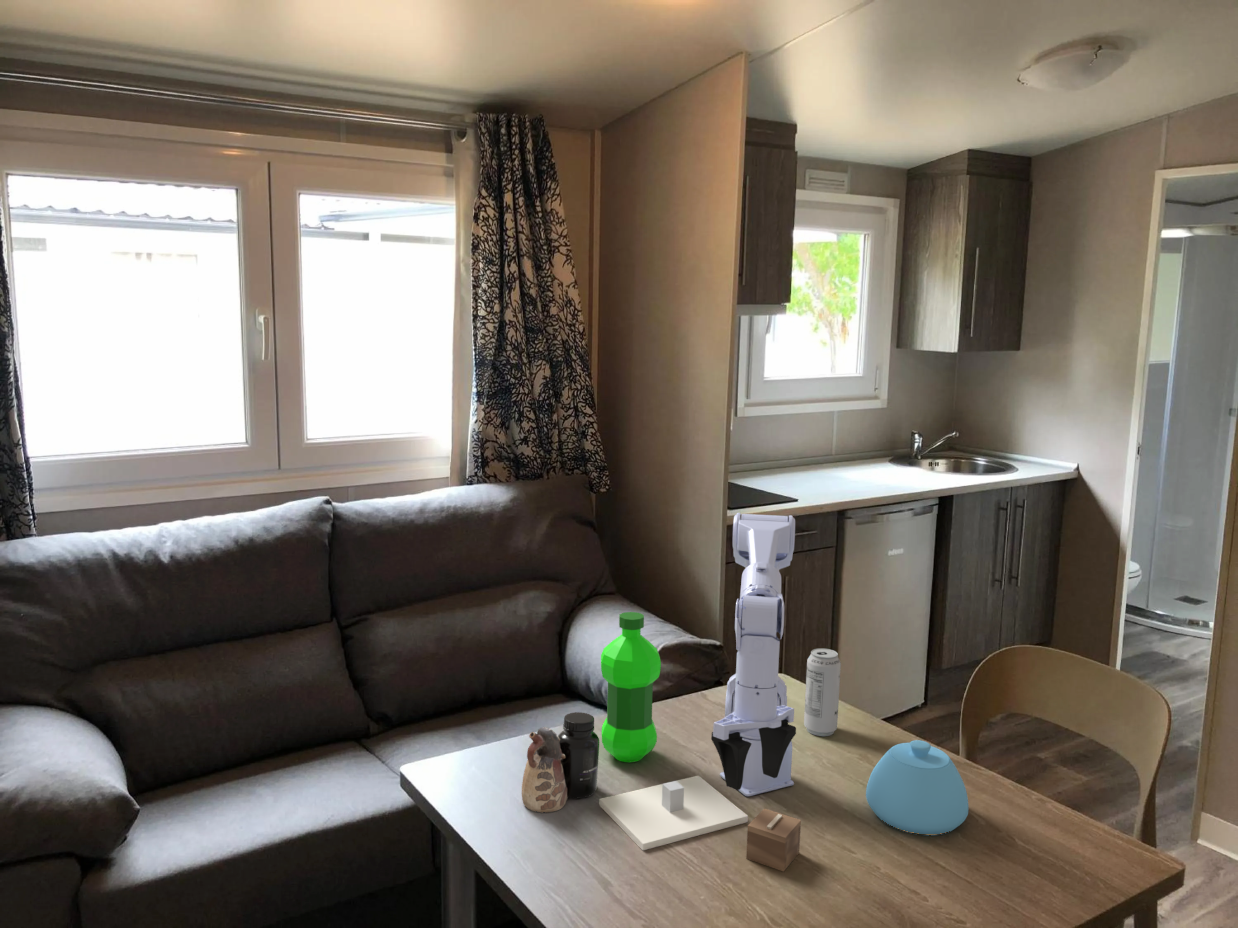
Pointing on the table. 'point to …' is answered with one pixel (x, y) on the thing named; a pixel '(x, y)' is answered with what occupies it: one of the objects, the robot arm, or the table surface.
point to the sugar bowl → (917, 789)
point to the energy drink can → (822, 692)
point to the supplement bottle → (579, 754)
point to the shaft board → (672, 812)
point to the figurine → (544, 773)
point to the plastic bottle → (630, 691)
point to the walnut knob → (773, 839)
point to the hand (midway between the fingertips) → (752, 781)
